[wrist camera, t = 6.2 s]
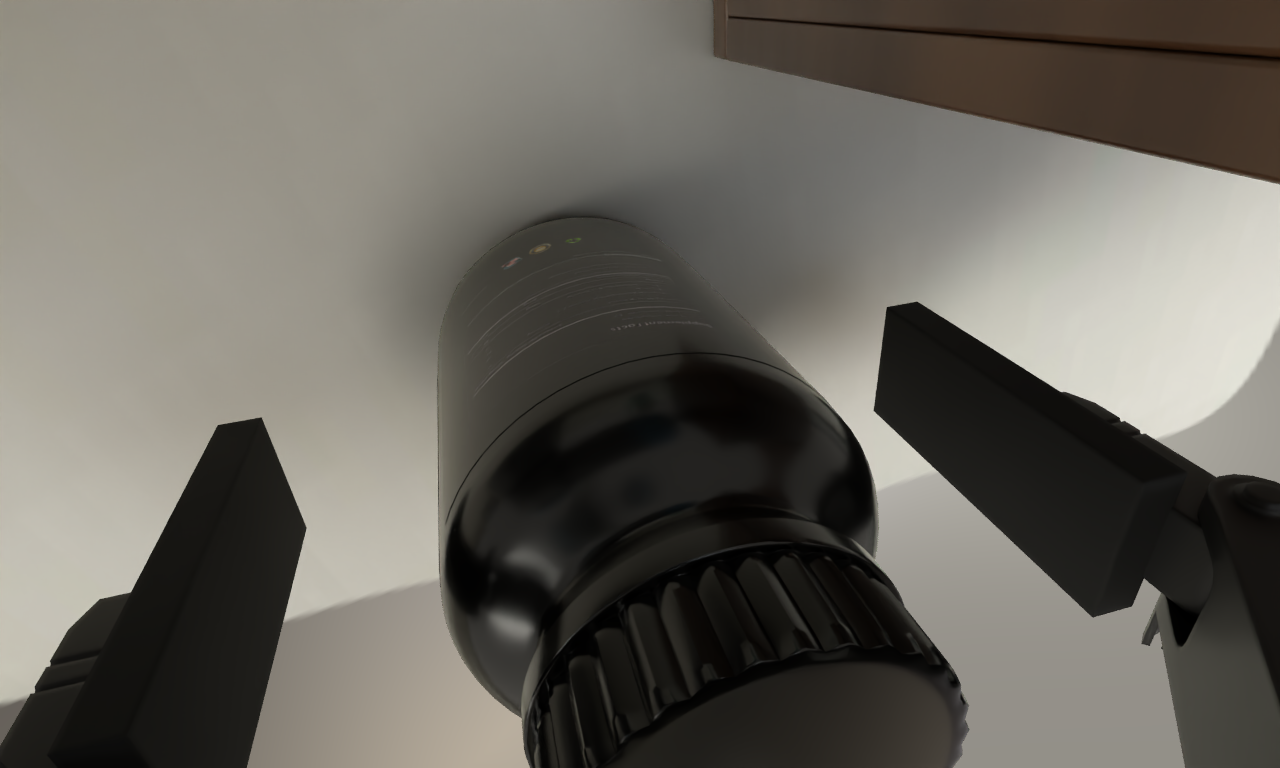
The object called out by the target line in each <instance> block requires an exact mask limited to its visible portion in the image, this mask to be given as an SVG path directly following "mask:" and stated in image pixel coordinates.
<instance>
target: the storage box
mask: <svg viewBox="0 0 1280 768" xmlns="http://www.w3.org/2000/svg"><path fill="white" fill-rule="evenodd" d="M713 5H714V55H715V57H717V58H721V59H726V60H729V61H733V62H738V63H742V64H746V65H751V66H755V67H760V68H764V69H769V70H773V71H778V72H782V73H786V74H791V75H795V76H800V77H804V78H809V79H813V80H818V81H822V82H827V83H831V84H835V85H840V86H844V87H849V88H853V89H858V90H862V91H867V92H871V93H875V94H880V95H884V96H889V97H893V98H898V99H902V100H907V101H911V102H916V103H920V104H924V105H929V106H933V107H938V108H942V109H947V110H951V111H956V112H960V113H964V114H969V115H973V116H978V117H982V118H987V119H991V120H996V121H1000V122H1005V123H1009V124H1013V125H1018V126H1022V127H1027V128H1031V129H1036V130H1040V131H1045V132H1049V133H1053V134H1058V135H1062V136H1067V137H1071V138H1076V139H1080V140H1085V141H1089V142H1094V143H1098V144H1102V145H1107V146H1111V147H1116V148H1120V149H1125V150H1129V151H1134V152H1138V153H1142V154H1147V155H1151V156H1156V157H1160V158H1165V159H1169V160H1174V161H1178V162H1183V163H1187V164H1191V165H1196V166H1200V167H1205V168H1209V169H1214V170H1218V171H1223V172H1227V173H1231V174H1236V175H1240V176H1245V177H1249V178H1254V179H1258V180H1263V181H1267V182H1272V183H1276V184H1280V0H713Z"/></svg>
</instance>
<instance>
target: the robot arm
mask: <svg viewBox="0 0 1280 768" xmlns="http://www.w3.org/2000/svg"><path fill="white" fill-rule="evenodd" d="M874 411H875V412H876V413H877V414H878V415H879V416H880V417H881V418H882V419H883V420H884V421H885V422H886V423H887V424H888V425H889V426H890V427H891V428H893V429H894V430H895V431H896V432H897V433H898V434H899V435H900V436H901V437H902V438H903V439H904V440H905V441H906V442H907V443H908V444H909V445H911V446H912V447H913V448H914V449H915V450H916V451H917V452H918V453H919V454H920V455H921V456H922V457H923V458H924V459H925V460H926V461H927V462H929V463H930V464H931V465H932V466H933V467H934V468H935V469H936V470H937V471H938V472H939V473H940V474H941V475H942V476H943V477H944V478H945V479H947V480H948V481H949V482H950V483H951V484H952V485H953V486H954V487H955V488H956V489H957V490H958V491H959V492H960V493H961V494H962V495H964V496H965V497H966V498H967V499H968V500H969V501H970V502H971V503H972V504H973V505H974V506H975V507H976V508H977V509H978V510H980V512H982V513H983V514H984V515H985V516H986V517H987V518H988V519H989V520H990V521H991V522H992V523H993V524H994V525H995V526H996V527H997V528H999V529H1000V530H1001V531H1002V532H1003V533H1004V534H1005V535H1006V536H1007V537H1008V538H1009V539H1010V540H1011V541H1012V542H1014V544H1015V545H1016V546H1018V547H1019V548H1020V549H1021V550H1022V551H1023V552H1024V553H1025V554H1026V555H1027V556H1028V557H1029V558H1030V559H1031V560H1032V561H1033V562H1035V563H1036V564H1037V565H1038V566H1039V567H1040V568H1041V569H1042V570H1043V571H1044V572H1045V573H1046V574H1047V575H1048V576H1050V578H1052V580H1054V581H1055V582H1056V583H1057V584H1058V585H1059V586H1060V587H1061V588H1062V589H1063V590H1064V591H1065V592H1066V593H1067V594H1068V595H1070V596H1071V597H1072V598H1073V599H1074V600H1075V601H1076V602H1077V603H1078V604H1079V605H1080V606H1081V607H1082V608H1083V609H1084V610H1085V611H1086V612H1087V613H1089V614H1090V615H1091V616H1092V617H1096V616H1099V615H1103V614H1107V613H1110V612H1114V611H1117V610H1121V609H1124V608H1128V607H1131V606H1132V605H1133V603H1134V600H1135V598H1136V596H1137V593H1138V591H1139V588H1140V586H1141V584H1142V581H1143V579H1144V578H1145V579H1146V580H1147V581H1148V582H1149V583H1151V584H1152V585H1153V586H1154V587H1156V588H1157V589H1158V590H1159V591H1160V592H1161V595H1160V597H1159V599H1158V602H1157V604H1156V606H1155V608H1154V610H1153V613H1152V615H1151V617H1150V619H1149V622H1148V624H1147V626H1146V629H1145V631H1144V633H1143V638H1142V644H1145V645H1148V646H1150V643H1151V642H1152V639H1153V637H1154V635H1155V634H1157V633H1158V632H1160V636H1161V641H1162V647H1161V649H1163V652H1164V657H1165V663H1166V668H1167V673H1168V679H1169V684H1170V689H1171V695H1172V700H1173V705H1174V710H1175V716H1176V721H1177V726H1178V732H1179V737H1180V742H1181V748H1182V753H1183V758H1184V763H1185V768H1280V484H1279V483H1277V482H1274V481H1271V480H1267V479H1263V478H1259V477H1255V476H1248V475H1237V474H1232V475H1225V476H1219V477H1217V478H1216V477H1215V476H1213V475H1212V474H1210V473H1208V472H1207V471H1205V470H1204V469H1202V468H1200V467H1199V466H1197V465H1195V464H1194V463H1192V462H1190V461H1189V460H1187V459H1186V458H1184V457H1182V456H1181V455H1179V454H1177V453H1176V452H1174V451H1172V450H1171V449H1169V448H1168V447H1166V446H1164V445H1163V444H1161V443H1160V442H1158V441H1156V440H1155V439H1153V438H1151V437H1150V436H1148V435H1147V434H1141V433H1140V430H1138V429H1137V428H1135V427H1134V426H1132V425H1130V424H1129V423H1127V422H1125V421H1123V422H1121V421H1120V418H1119V417H1117V416H1116V415H1114V414H1112V413H1111V412H1109V411H1107V410H1106V409H1104V408H1103V407H1101V406H1099V405H1098V404H1096V403H1094V402H1091V401H1088V400H1086V399H1083V398H1080V397H1078V396H1075V395H1072V394H1069V393H1067V392H1060V391H1058V390H1057V389H1055V388H1053V387H1052V386H1050V385H1049V384H1047V383H1045V382H1044V381H1042V380H1041V379H1039V378H1038V377H1036V376H1034V375H1033V374H1031V373H1030V372H1028V371H1026V370H1025V369H1023V368H1022V367H1020V366H1019V365H1017V364H1015V363H1014V362H1012V361H1011V360H1009V359H1007V358H1006V357H1004V356H1003V355H1001V354H999V353H998V352H996V351H995V350H993V349H992V348H990V347H988V346H987V345H985V344H984V343H982V342H980V341H979V340H977V339H976V338H974V337H973V336H971V335H969V334H968V333H966V332H965V331H963V330H961V329H960V328H958V327H957V326H955V325H954V324H952V323H950V322H949V321H947V320H946V319H944V318H942V317H941V316H939V315H938V314H936V313H934V312H933V311H931V310H930V309H928V308H927V307H925V306H923V305H922V304H920V303H919V302H913V303H907V304H902V305H896V306H890V307H887V310H886V318H885V326H884V334H883V342H882V350H881V358H880V366H879V374H878V382H877V390H876V398H875V406H874ZM305 532H306V526H305V523H304V521H303V518H302V516H301V513H300V511H299V508H298V506H297V503H296V501H295V499H294V496H293V494H292V491H291V489H290V486H289V484H288V481H287V479H286V476H285V474H284V472H283V469H282V467H281V464H280V462H279V459H278V457H277V454H276V452H275V449H274V447H273V444H272V442H271V440H270V437H269V435H268V432H267V430H266V427H265V425H264V422H263V420H262V418H256V419H250V420H245V421H239V422H233V423H228V424H222V425H218V426H217V428H216V430H215V432H214V434H213V435H212V437H211V439H210V441H209V443H208V445H207V447H206V449H205V451H204V453H203V455H202V457H201V459H200V461H199V462H198V464H197V466H196V468H195V470H194V472H193V474H192V476H191V478H190V480H189V482H188V484H187V486H186V488H185V489H184V491H183V493H182V495H181V497H180V499H179V501H178V503H177V505H176V507H175V509H174V511H173V513H172V515H171V516H170V518H169V520H168V522H167V524H166V526H165V528H164V530H163V532H162V534H161V536H160V538H159V540H158V542H157V543H156V545H155V547H154V549H153V551H152V553H151V555H150V557H149V559H148V561H147V563H146V565H145V567H144V569H143V570H142V572H141V574H140V576H139V578H138V580H137V582H136V584H135V586H134V588H133V590H132V592H131V593H127V594H122V595H118V596H113V597H108V598H104V599H100V600H99V601H98V602H97V603H96V604H94V605H93V606H92V607H91V608H90V609H89V610H88V611H87V612H86V613H85V614H84V615H83V616H82V617H81V618H80V619H79V620H78V621H77V622H76V623H75V624H74V625H73V626H72V627H71V628H70V629H69V630H68V631H67V633H66V635H65V636H64V638H63V640H62V642H61V643H60V645H59V647H58V648H57V650H56V652H55V653H54V655H53V657H52V659H51V660H50V662H51V666H50V667H46V669H45V671H44V672H43V674H42V676H41V677H40V679H39V681H38V682H37V684H36V686H35V693H34V694H30V696H29V698H28V699H27V701H26V703H25V705H24V707H23V708H22V710H21V711H20V713H19V715H18V716H17V718H16V720H15V722H14V723H13V725H12V727H11V728H10V730H9V732H8V734H7V735H6V737H5V739H4V740H3V742H2V744H1V745H0V768H247V764H248V760H249V756H250V752H251V748H252V744H253V740H254V736H255V732H256V728H257V724H258V720H259V716H260V712H261V708H262V704H263V700H264V696H265V692H266V688H267V684H268V680H269V676H270V672H271V668H272V664H273V660H274V656H275V652H276V648H277V644H278V640H279V636H280V632H281V628H282V624H283V620H284V616H285V612H286V608H287V604H288V600H289V596H290V592H291V588H292V584H293V580H294V576H295V572H296V568H297V564H298V560H299V556H300V552H301V548H302V544H303V540H304V536H305Z"/></svg>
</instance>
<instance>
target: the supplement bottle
mask: <svg viewBox="0 0 1280 768" xmlns="http://www.w3.org/2000/svg"><path fill="white" fill-rule="evenodd" d="M437 386H438V507H439V574H440V587H441V597H442V606H443V610H444V615H445V620H446V624H447V626H448V629H449V632H450V635H451V637H452V640H453V642H454V645H455V647H456V648H457V650H458V652H459V654H460V656H461V658H462V660H463V661H464V663H465V664H466V666H467V667H468V668H469V670H470V671H471V673H472V674H473V675H474V677H475V678H476V679H477V680H478V682H479V683H480V684H481V685H482V686H483V687H484V688H485V689H486V690H487V691H488V692H489V693H490V694H491V695H492V696H493V697H494V698H495V699H496V700H497V701H499V702H500V703H501V704H502V705H503V706H505V707H506V708H507V709H509V710H510V711H511V712H513V713H514V714H516V715H518V716H519V717H521V718H522V728H523V740H524V750H525V754H526V757H527V760H528V763H529V765H530V768H953V767H954V765H955V764H956V763H957V761H958V760H959V759H960V757H961V756H962V742H963V741H964V739H965V737H966V735H967V733H968V731H969V728H968V725H967V723H966V721H965V717H966V714H967V711H968V703H967V701H966V699H965V697H964V695H963V693H962V692H961V684H960V682H959V680H958V677H957V675H956V674H955V672H954V670H953V669H952V667H951V666H950V664H949V663H948V662H947V660H946V659H945V658H944V656H943V655H942V654H941V653H940V651H939V650H938V649H937V648H936V646H935V645H934V644H933V643H932V641H931V640H930V639H929V637H928V636H927V635H926V634H925V632H924V631H923V630H922V629H921V627H920V626H919V625H918V624H917V622H916V621H915V620H914V618H913V617H912V616H911V615H910V613H909V612H908V611H907V610H906V608H905V607H904V604H903V601H902V598H901V596H900V594H899V592H898V591H897V589H896V587H895V586H894V584H893V583H892V581H891V580H890V579H889V578H888V576H887V575H886V574H885V573H884V571H883V570H882V569H881V568H880V566H879V565H878V564H877V563H876V561H875V557H876V551H877V542H878V530H879V520H878V503H877V497H876V490H875V484H874V480H873V477H872V473H871V470H870V466H869V463H868V461H867V459H866V457H865V454H864V452H863V450H862V448H861V446H860V444H859V442H858V440H857V439H856V437H855V436H854V434H853V432H852V431H851V429H850V428H849V427H848V426H847V425H846V423H845V422H844V421H843V420H842V418H841V417H840V416H839V415H838V414H837V413H836V411H835V410H834V409H833V408H832V407H831V406H830V404H829V403H828V402H827V401H826V400H825V399H824V398H823V397H822V396H821V395H820V394H819V393H818V392H817V391H816V390H815V389H814V388H813V387H812V386H811V385H810V384H809V383H808V382H807V381H806V380H805V379H804V378H803V377H802V376H801V375H800V374H799V373H798V372H797V371H796V370H795V369H794V368H793V367H792V366H791V365H790V364H789V363H788V362H787V361H786V360H785V359H784V358H783V357H782V356H781V355H780V354H779V353H778V352H777V351H776V350H775V349H774V348H773V347H772V346H771V345H770V344H769V343H768V342H767V341H766V340H765V339H764V338H763V337H762V336H761V335H760V334H759V333H758V332H757V331H756V330H755V329H754V328H753V327H752V326H751V325H750V324H749V323H748V322H747V321H746V320H745V319H744V318H743V317H742V316H741V315H740V314H739V313H738V312H737V311H736V310H735V309H734V308H733V307H732V306H731V305H730V304H729V303H728V302H727V301H726V300H725V299H724V298H723V297H722V296H721V295H720V294H719V293H718V292H717V291H716V290H715V289H714V288H713V287H712V286H711V285H710V284H709V283H708V282H707V281H706V280H705V279H704V278H702V277H701V276H700V275H699V274H698V273H697V272H696V271H695V270H694V269H693V268H692V267H691V266H690V265H689V264H688V263H687V262H686V261H685V260H684V259H683V258H681V257H680V256H679V255H678V254H677V253H676V252H675V251H674V250H673V249H672V248H670V247H669V246H667V245H666V244H665V243H663V242H662V241H661V240H659V239H658V238H656V237H654V236H652V235H651V234H649V233H647V232H645V231H643V230H641V229H639V228H637V227H634V226H631V225H628V224H625V223H622V222H619V221H614V220H609V219H603V218H594V217H575V218H564V219H559V220H553V221H548V222H545V223H542V224H538V225H535V226H532V227H530V228H527V229H525V230H522V231H520V232H518V233H516V234H514V235H512V236H510V237H509V238H507V239H505V240H504V241H502V242H501V243H499V244H498V245H496V246H495V247H494V248H492V249H491V250H490V251H489V252H487V253H486V254H485V255H484V256H483V257H482V258H481V259H480V260H479V261H478V262H477V263H475V264H474V266H473V267H472V268H471V269H470V270H469V272H468V273H467V274H466V275H465V276H464V278H463V279H462V281H461V282H460V284H459V285H458V287H457V288H456V290H455V292H454V294H453V296H452V298H451V300H450V302H449V305H448V307H447V310H446V312H445V316H444V319H443V323H442V326H441V332H440V338H439V346H438V375H437Z"/></svg>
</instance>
